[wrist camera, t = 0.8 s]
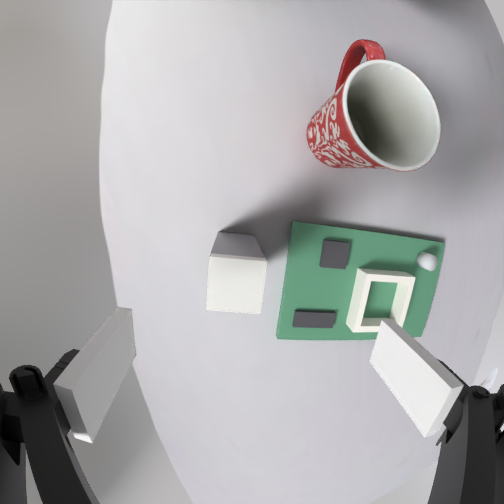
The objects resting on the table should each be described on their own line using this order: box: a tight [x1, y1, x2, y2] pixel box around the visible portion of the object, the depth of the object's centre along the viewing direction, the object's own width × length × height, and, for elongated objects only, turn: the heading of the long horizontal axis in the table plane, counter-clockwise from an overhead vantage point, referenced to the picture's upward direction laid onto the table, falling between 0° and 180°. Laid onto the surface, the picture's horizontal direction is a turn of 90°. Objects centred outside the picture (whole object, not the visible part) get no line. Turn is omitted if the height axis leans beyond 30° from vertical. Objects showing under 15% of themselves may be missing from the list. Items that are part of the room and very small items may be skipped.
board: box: [276, 221, 445, 340], centre depth 32 cm, size 14×22×4 cm, turn 84°
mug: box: [307, 39, 441, 172], centre depth 23 cm, size 13×9×14 cm
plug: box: [206, 232, 267, 314], centre depth 26 cm, size 4×4×12 cm
